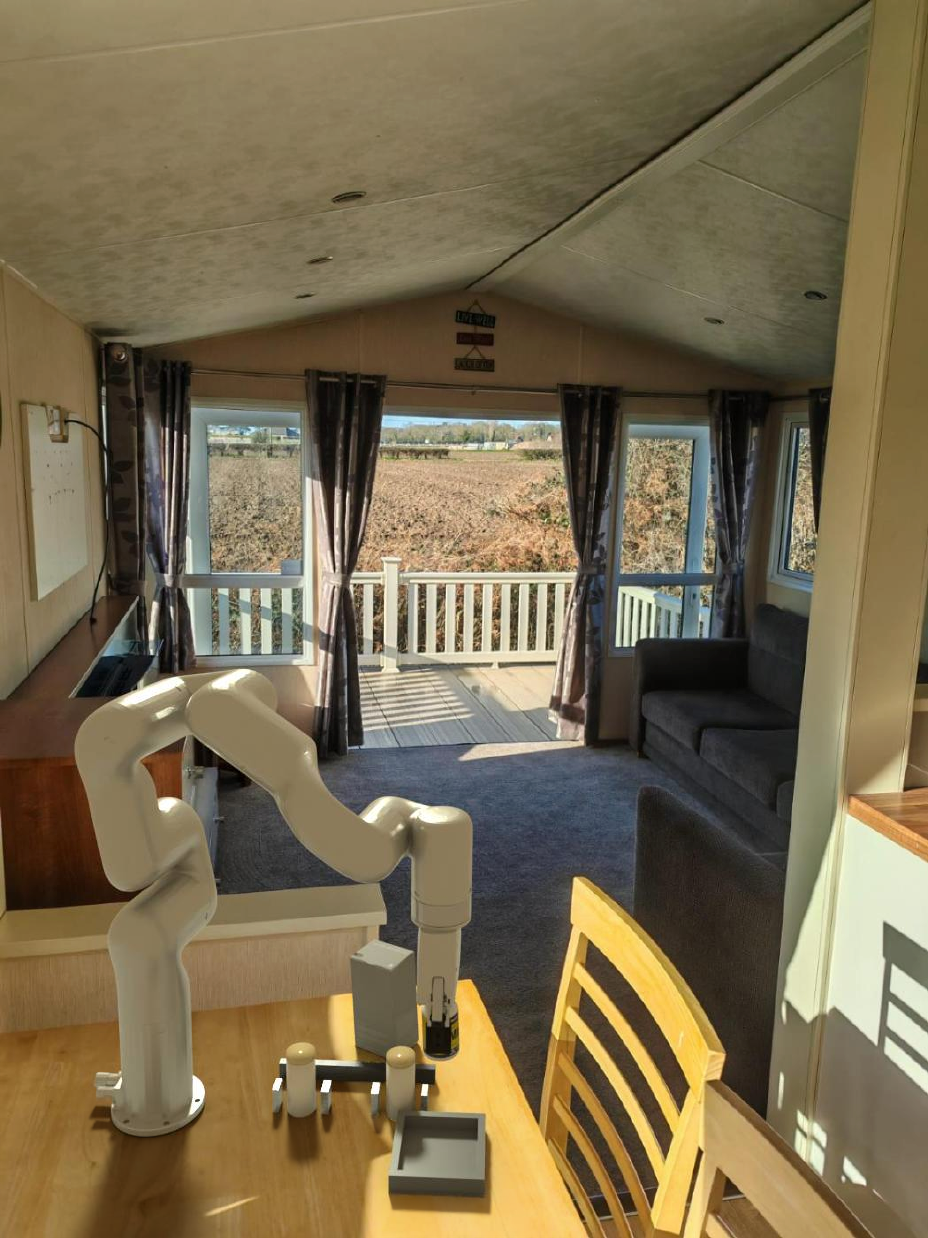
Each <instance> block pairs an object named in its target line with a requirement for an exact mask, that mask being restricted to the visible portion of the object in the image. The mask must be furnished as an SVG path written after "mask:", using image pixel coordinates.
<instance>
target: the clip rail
mask: <svg viewBox="0 0 928 1238" xmlns="http://www.w3.org/2000/svg"><path fill="white" fill-rule="evenodd" d="M278 1064H279V1066H278V1068H279V1069H278V1070H279V1072H278V1073H279V1078H276V1079H275V1082H274V1084H273V1087H272V1113H280V1110H281V1107H282V1106H281V1105H282V1103H283V1080H287V1073H286V1057H285V1058H283V1057H282V1058H280V1061H279V1063H278ZM436 1069H437V1065H436V1064H435V1063H415V1085H422V1088H421V1094H420V1097H421V1098H420V1101H421V1102H420V1111H427V1110H428V1109H429V1086H431V1085H432V1086H434V1085H436V1079H437V1078H436V1077H437V1076H436V1074H437V1071H436ZM315 1078H316V1081H323V1083H322V1087H321V1090H320V1114H321V1115H329V1113H330V1109H331V1106H332V1105H331V1104H332V1081H333V1082H350V1083H351V1082H354V1083H355V1082H356V1083H372V1086H371V1087H372V1088H371V1091H370V1116H371V1117H379V1113H380V1107H381V1083H382V1084H386V1061H384V1062H382V1061H361V1060H360V1061H359V1060H358V1061H357V1060H356V1061H355V1060H336V1059H335V1060H334V1059H332V1060H331V1059H315ZM428 1111H429V1110H428Z"/></svg>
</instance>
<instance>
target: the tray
mask: <svg viewBox="0 0 928 1238" xmlns="http://www.w3.org/2000/svg"><path fill="white" fill-rule="evenodd" d="M486 1114H487V1113H483V1112H482V1113H481V1112H477V1113H476V1112H458V1111H457V1112H456V1111H455V1112H453V1111H434V1110H431V1111H429V1110H428V1111H421V1110H415V1111H410V1110H398V1116H397V1121H395V1122H396V1124H395V1130H394V1137H393V1142H392V1143H393V1144H392V1149H391V1156H390V1163H389V1171H388V1187H387V1188H388V1191H387V1193H388V1194H397V1195H400V1194H401V1195H402V1194H403V1195H419V1196H420V1195H421V1196H424V1195H425V1196H442V1197H443V1196H446V1197H447V1196H449V1197H466V1198H467V1197H468V1198H485V1188H486V1187H485V1180H486V1179H485V1178H486V1177H485V1176H486V1128H487V1127H486V1124H487V1123H486V1121H487V1120H486V1118H487V1117H486V1116H487V1115H486Z"/></svg>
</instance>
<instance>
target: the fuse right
mask: <svg viewBox="0 0 928 1238" xmlns="http://www.w3.org/2000/svg"><path fill="white" fill-rule="evenodd" d="M385 1060H386V1061H385V1062H386V1083H385V1093H386V1094H385V1114H386V1117H387V1118H388V1119H389V1120H391V1121H394V1122H397V1116H398V1110H410V1111H416V1107H415V1106H416V1104H415V1101H416V1099H415V1098H416V1095H415V1094H416V1084H415V1064H416V1052H415V1050H413V1048H412V1047H411V1048H409V1047H406V1046H397V1047H393V1048H391V1049H390V1050H389V1051H388V1052H387V1055H386V1058H385Z"/></svg>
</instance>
